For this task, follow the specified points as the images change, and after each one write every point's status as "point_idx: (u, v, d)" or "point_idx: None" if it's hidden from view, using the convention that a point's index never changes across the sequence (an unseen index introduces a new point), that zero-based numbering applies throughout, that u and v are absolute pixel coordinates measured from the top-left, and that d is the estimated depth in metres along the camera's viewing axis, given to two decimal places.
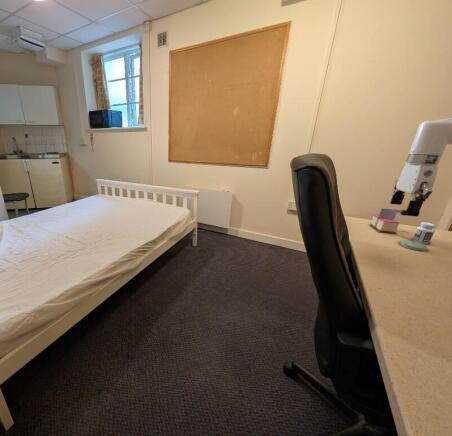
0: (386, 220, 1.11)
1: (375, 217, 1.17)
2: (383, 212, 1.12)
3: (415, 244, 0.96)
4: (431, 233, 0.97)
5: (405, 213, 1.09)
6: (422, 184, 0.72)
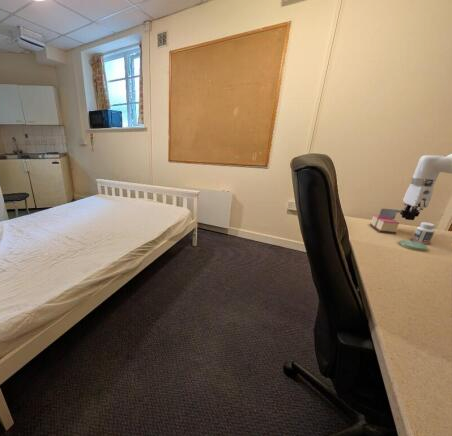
0: (386, 220, 1.11)
1: (375, 217, 1.17)
2: (383, 212, 1.12)
3: (415, 244, 0.96)
4: (431, 233, 0.97)
5: (405, 213, 1.09)
6: (420, 202, 1.03)
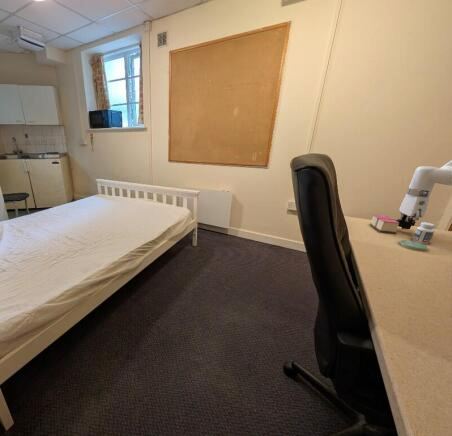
0: (386, 220, 1.11)
1: (375, 217, 1.17)
2: None
3: (415, 244, 0.96)
4: (431, 233, 0.97)
5: (401, 222, 1.11)
6: (416, 212, 1.05)
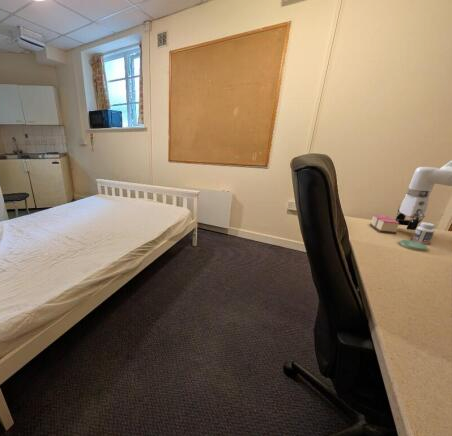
0: (386, 220, 1.11)
1: (375, 217, 1.17)
2: None
3: (415, 244, 0.96)
4: (431, 233, 0.97)
5: (401, 222, 1.11)
6: (417, 211, 1.04)
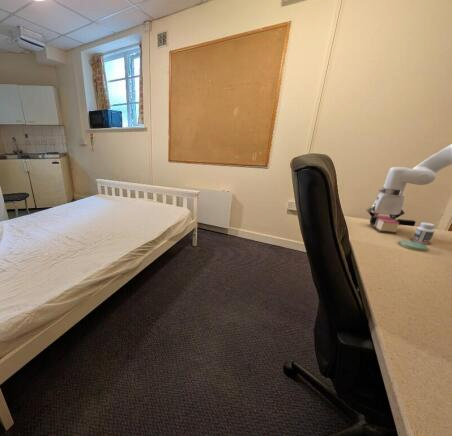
0: (386, 220, 1.11)
1: None
2: None
3: (415, 244, 0.96)
4: (431, 233, 0.97)
5: (401, 222, 1.11)
6: None
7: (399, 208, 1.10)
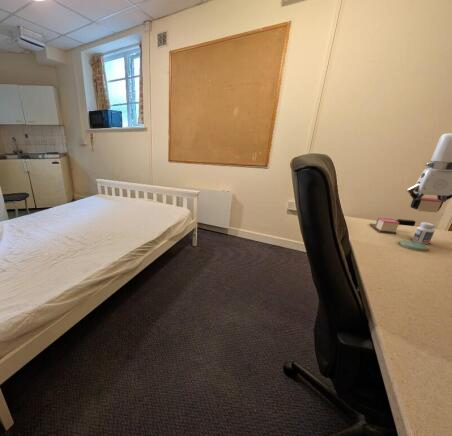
0: (386, 220, 1.11)
1: None
2: None
3: (415, 244, 0.96)
4: (431, 233, 0.97)
5: (401, 222, 1.11)
6: None
7: None
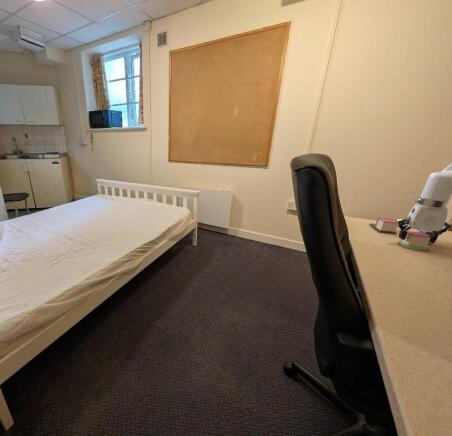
0: (386, 220, 1.11)
1: (408, 234, 0.96)
2: None
3: None
4: None
5: None
6: None
7: (441, 223, 0.89)
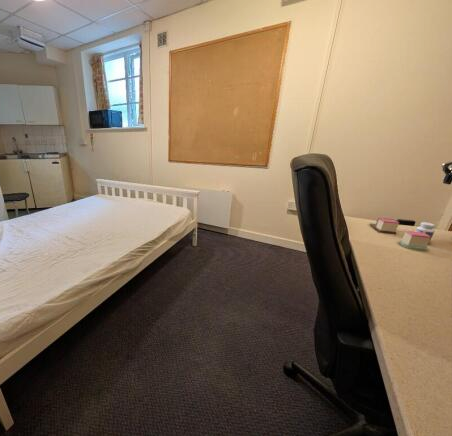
0: (386, 220, 1.11)
1: (408, 234, 0.96)
2: None
3: None
4: (431, 233, 0.97)
5: (401, 222, 1.11)
6: None
7: None
